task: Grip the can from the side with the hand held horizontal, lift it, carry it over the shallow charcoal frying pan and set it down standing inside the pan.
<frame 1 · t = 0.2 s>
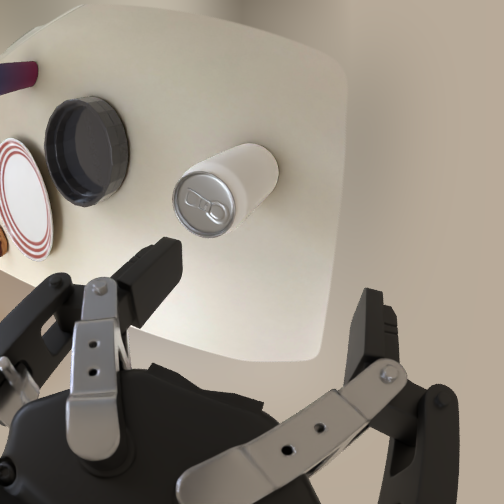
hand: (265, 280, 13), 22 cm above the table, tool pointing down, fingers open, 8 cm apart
dinner plate: (28, 196, 51), on the table
pan: (91, 148, 40), on the table
donut: (1, 236, 64), on the table
can: (252, 170, 34), on the table
cup: (32, 73, 37), on the table
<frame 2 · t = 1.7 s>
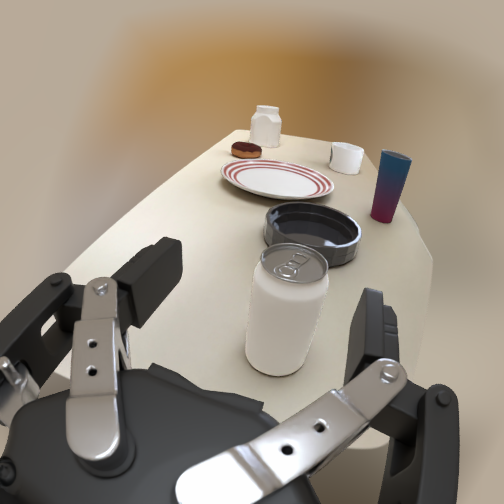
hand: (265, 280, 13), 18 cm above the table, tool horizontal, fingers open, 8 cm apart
mug: (343, 169, 95), on the table
dinner plate: (276, 186, 74), on the table
pan: (310, 241, 52), on the table
donut: (246, 156, 96), on the table
jar: (264, 144, 113), on the table
can: (274, 355, 31), on the table
cup: (380, 218, 64), on the table
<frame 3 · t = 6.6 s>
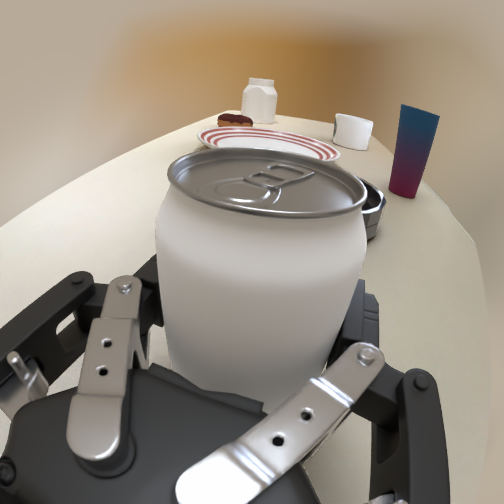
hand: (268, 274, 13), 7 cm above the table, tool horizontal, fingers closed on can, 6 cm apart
mug: (349, 145, 79), on the table
dinner plate: (267, 155, 58), on the table
pan: (311, 212, 36), on the table
donut: (234, 129, 80), on the table
jar: (257, 121, 97), on the table
can: (240, 402, 15), on the table, touching gripper
cup: (401, 193, 48), on the table
when the fingers open (7 cm above the table, at t = 16.0 s): can stays where it is, resting on pan.
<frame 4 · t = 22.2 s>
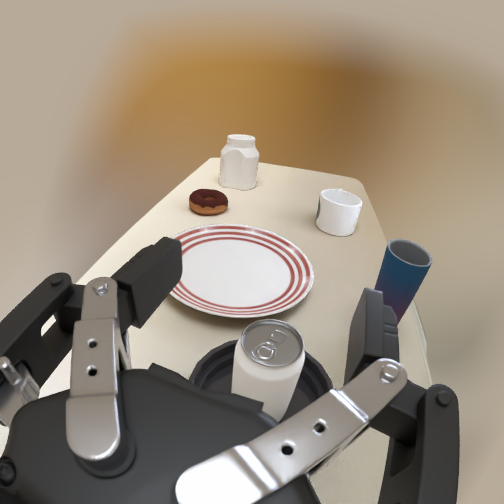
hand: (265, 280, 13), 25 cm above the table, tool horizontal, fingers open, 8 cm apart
mug: (334, 225, 76), on the table
dinner plate: (233, 275, 55), on the table
pan: (258, 407, 33), on the table
donut: (208, 208, 77), on the table
jar: (237, 184, 94), on the table
can: (258, 406, 32), resting on pan
cup: (375, 332, 45), on the table
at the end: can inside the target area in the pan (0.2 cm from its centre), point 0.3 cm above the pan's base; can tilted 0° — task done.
